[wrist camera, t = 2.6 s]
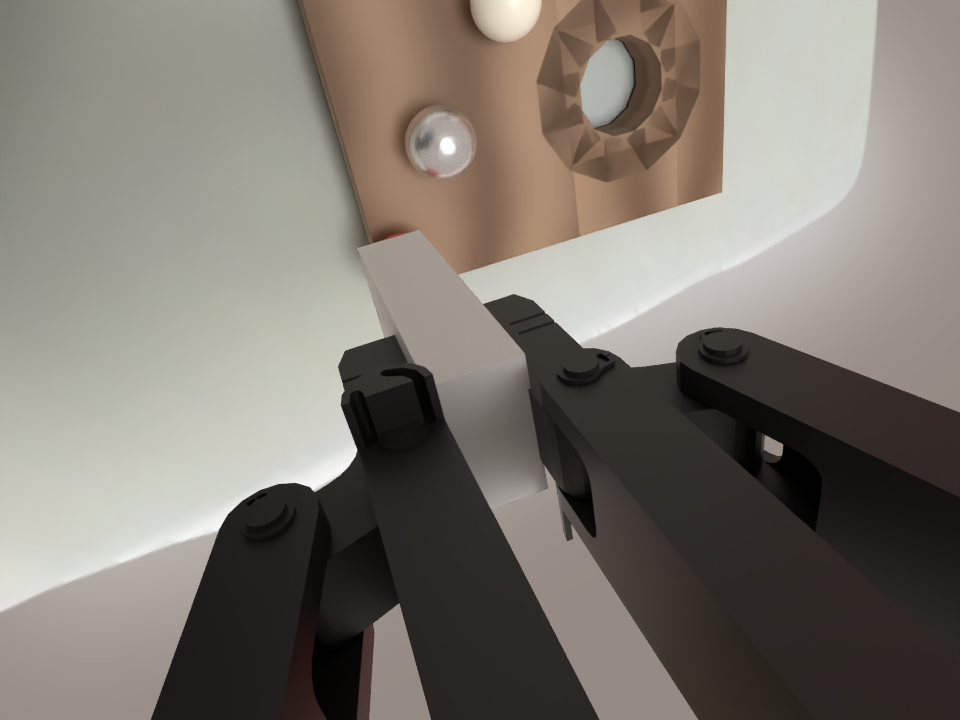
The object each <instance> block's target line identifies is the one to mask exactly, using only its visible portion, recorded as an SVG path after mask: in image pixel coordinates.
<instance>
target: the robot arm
mask: <svg viewBox="0 0 960 720" xmlns="http://www.w3.org/2000/svg"><path fill="white" fill-rule="evenodd" d="M357 249H358V253H359V256H360V259H361V262H362V266H363V269H364V272H365V275H366V279H367V282H368V285H369V288H370V292H371V295H372V298H373V301H374V305H375V308H376V311H377V314H378V318H379V321H380V324H381V327H382V331H383V334H384V337H385V338H383V339H380V340H377V341H374V342H371V343H368V344H365V345H362V346H359V347H355V348H352V349H349V350H346V351H345V352H344V355H343V357H342V359H341V361H340V363H339V366H338V368H339V372H340V376H341V379H342V383H343V387H344V390H345V391H344V393H343V394H342V399H341V407H342V410H343V413H344V415H345V418H346V420H347V423H348V426H349V428H350V431H351V434H352V436H353V439H354V442H355V444H356V447H357V454H356V457H355V458H354V460H353V461H352V463H351V464H350V466H349V467H348V468H347V469H346V470H345V471H344V472H343V473H342V474H341V475H340V476H339V477H337V478H336V479H335V480H333V481H332V482H331V483H329V484H328V485H326V486H324V487H323V488H321V489H320V490H318V491H316V492H315V493H314V491H313V490H312V489H311V488H310V487H308V486H304V485H301V484H298V483H288V484H278V485H274V486H271V487H268V488H265V489H262V490H260V491H258V492H256V493H255V494H253V495H251V496H250V497H248V498H246V499H245V500H243V501H242V502H241V503H240V504H239V505H237V506H236V507H235V508H234V509H233V510H232V511H231V512H230V513H229V514H228V515H227V517H226V519H225V521H224V522H223V524H222V526H221V527H220V529H219V532H218V535H217V537H216V540H215V543H214V546H213V549H212V552H211V554H210V557H209V560H208V563H207V565H206V568H205V571H204V573H203V577H202V579H201V582H200V585H199V588H198V590H197V593H196V596H195V599H194V601H193V604H192V607H191V610H190V612H189V615H188V618H187V621H186V624H185V627H184V629H183V632H182V635H181V637H180V640H179V643H178V646H177V649H176V651H175V654H174V657H173V660H172V663H171V665H170V668H169V671H168V674H167V677H166V679H165V682H164V685H163V687H162V690H161V693H160V696H159V699H158V701H157V704H156V707H155V710H154V713H153V715H152V718H151V720H369V711H370V694H371V678H372V663H373V646H374V627H373V623H374V622H375V621H377V620H378V619H379V618H380V617H382V616H383V615H384V614H386V613H387V612H388V611H390V610H391V609H392V608H394V607H395V606H396V605H397V604H399V603H400V606H401V610H402V614H403V617H404V621H405V625H406V628H407V632H408V636H409V640H410V643H411V647H412V650H413V654H414V658H415V662H416V665H417V669H418V672H419V676H420V679H421V684H422V687H423V691H424V695H425V698H426V702H427V705H428V709H429V713H430V717H431V720H599V718H598V716H597V714H596V712H595V710H594V708H593V707H592V705H591V702H590V701H589V699H588V697H587V695H586V693H585V691H584V689H583V687H582V685H581V683H580V682H579V679H578V677H577V675H576V673H575V672H574V669H573V668H572V666H571V664H570V662H569V660H568V658H567V656H566V654H565V652H564V650H563V648H562V646H561V644H560V642H559V641H558V638H557V636H556V634H555V633H554V631H553V629H552V627H551V625H550V623H549V621H548V619H547V617H546V615H545V613H544V611H543V610H542V607H541V605H540V603H539V601H538V600H537V598H536V596H535V594H534V592H533V590H532V588H531V586H530V584H529V582H528V580H527V578H526V576H525V574H524V572H523V570H522V568H521V566H520V565H519V563H518V561H517V559H516V557H515V555H514V553H513V551H512V549H511V547H510V545H509V543H508V541H507V539H506V537H505V535H504V533H503V532H502V530H501V528H500V526H499V524H498V522H497V520H496V518H495V516H494V514H493V512H492V510H494V509H496V508H499V507H501V506H504V505H506V504H509V503H511V502H514V501H517V500H519V499H522V498H524V497H527V496H529V495H532V494H535V493H537V492H540V491H542V490H545V489H547V488H548V486H547V480H546V474H545V468H544V465H545V467H546V468H547V470H548V471H549V473H550V474H551V475H552V477H553V479H554V480H555V481H556V488H557V494H558V500H559V506H560V512H561V518H562V525H563V531H564V534H565V537H566V540H567V541H569V540H571V539H573V536H572V529H571V524H572V525H573V527H574V528H575V530H576V532H577V533H578V535H579V536H580V538H581V539H582V541H583V542H584V544H585V545H586V547H587V549H588V550H589V552H590V553H591V555H592V556H593V558H594V559H595V561H596V562H597V564H598V565H599V567H600V569H601V570H602V572H603V573H604V575H605V576H606V578H607V579H608V581H609V582H610V584H611V586H612V587H613V589H614V590H615V592H616V593H617V595H618V596H619V598H620V599H621V601H622V602H623V604H624V606H625V607H626V609H627V610H628V612H629V613H630V615H631V616H632V618H633V620H634V621H635V623H636V624H637V625H638V627H639V629H640V630H641V632H642V633H643V635H644V636H645V638H646V640H647V641H648V643H649V644H650V646H651V647H652V649H653V650H654V652H655V653H656V655H657V657H658V658H659V660H660V661H661V663H662V664H663V666H664V667H665V669H666V670H667V672H668V673H669V675H670V676H671V678H672V680H673V681H674V683H675V684H676V686H677V687H678V689H679V690H680V692H681V693H682V695H683V697H684V698H685V700H686V701H687V703H688V704H689V706H690V707H691V709H692V710H693V712H694V714H695V715H696V717H697V718H698V720H960V412H957V411H955V410H952V409H949V408H947V407H944V406H941V405H939V404H936V403H933V402H931V401H928V400H926V399H923V398H921V397H918V396H915V395H913V394H910V393H908V392H905V391H902V390H900V389H897V388H894V387H892V386H889V385H887V384H884V383H881V382H879V381H876V380H874V379H871V378H868V377H866V376H863V375H861V374H858V373H855V372H853V371H850V370H847V369H845V368H842V367H840V366H837V365H834V364H832V363H829V362H827V361H824V360H822V359H819V358H816V357H814V356H811V355H809V354H806V353H803V352H801V351H798V350H796V349H793V348H790V347H788V346H785V345H783V344H780V343H777V342H775V341H772V340H769V339H767V338H764V337H762V336H759V335H756V334H754V333H751V332H747V331H743V330H739V329H733V328H720V327H719V328H712V329H705V330H700V331H698V332H695V333H693V334H690V335H688V336H686V337H685V338H684V339H683V340H682V341H681V342H679V343H678V347H677V350H676V362H675V363H667V364H661V365H653V366H646V367H634V368H631V367H630V366H629V365H628V364H626V363H625V362H624V361H623V360H622V359H621V358H620V357H618V356H616V355H614V354H613V353H611V352H609V351H605V350H600V349H596V348H587V349H586V348H585V349H584V348H582V347H581V346H580V345H579V344H578V343H577V342H576V341H575V340H574V339H573V338H572V337H571V336H570V335H569V334H568V333H567V332H565V331H564V330H563V329H562V328H561V327H560V326H559V325H558V324H557V323H555V322H554V320H553V319H552V318H551V317H550V316H549V315H548V314H545V311H544V310H542V309H541V308H540V307H539V306H538V305H537V304H536V303H535V302H534V301H533V300H530V299H527V298H524V297H521V296H518V295H515V294H513V295H510V296H507V297H504V298H501V299H498V300H494V301H491V302H488V303H485V304H482V303H481V302H480V300H479V299H478V298H477V297H476V296H475V294H474V293H473V292H472V291H471V290H470V289H469V287H468V286H467V285H466V284H465V283H464V282H463V280H462V279H461V278H460V277H459V276H458V275H457V273H456V272H455V271H454V270H453V269H452V267H451V266H450V265H449V264H448V263H447V262H446V260H445V259H444V258H443V257H442V256H441V255H440V253H439V252H438V251H437V250H436V249H435V248H434V246H433V245H432V244H431V243H430V242H429V240H428V239H427V238H426V237H425V236H424V235H423V233H422V232H421V231H420V230H417V231H413V232H410V233H406V234H403V235H400V236H396V237H393V238H389V239H386V240H383V241H379V242H376V243H372V244H369V245H366V246H362V247H359V248H357ZM765 435H766V436H769V437H770V438H772V439H774V440H776V441H778V442H780V443H782V444H783V454H782V456H776V455H773V454H771V453H768V452H767V451H765V450H764V439H765Z"/></svg>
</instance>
